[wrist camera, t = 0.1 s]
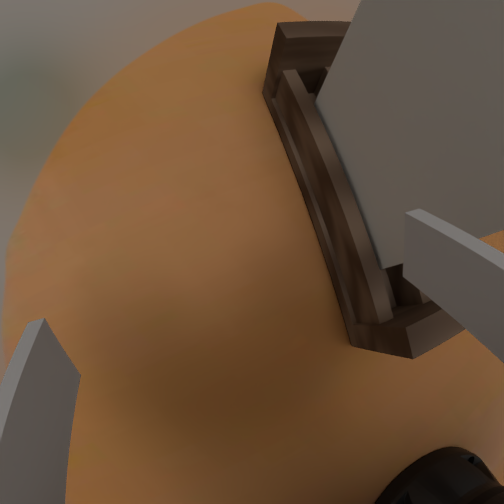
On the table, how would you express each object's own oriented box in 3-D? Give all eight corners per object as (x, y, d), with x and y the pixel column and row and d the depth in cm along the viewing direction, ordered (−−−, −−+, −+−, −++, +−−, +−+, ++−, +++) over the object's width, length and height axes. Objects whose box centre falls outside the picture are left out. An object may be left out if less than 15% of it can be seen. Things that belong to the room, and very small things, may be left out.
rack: (445, 302, 27) (515, 294, 18) (352, 346, 25) (413, 359, 16) (356, 82, 31) (389, 24, 21) (262, 92, 29) (277, 22, 20)
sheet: (381, 268, 25) (633, 172, 4) (361, 275, 25) (628, 178, 4) (324, 122, 27) (435, -84, 6) (304, 125, 27) (405, -97, 6)
